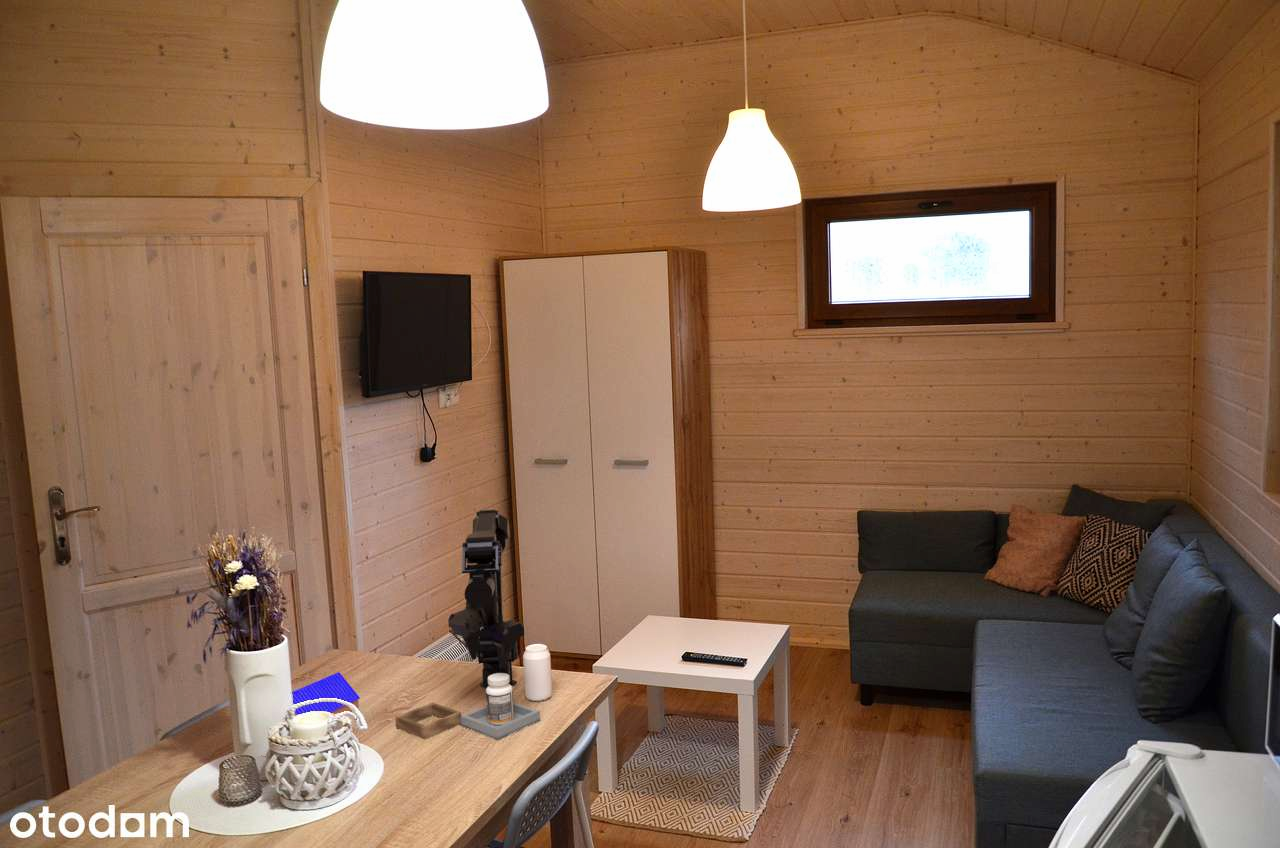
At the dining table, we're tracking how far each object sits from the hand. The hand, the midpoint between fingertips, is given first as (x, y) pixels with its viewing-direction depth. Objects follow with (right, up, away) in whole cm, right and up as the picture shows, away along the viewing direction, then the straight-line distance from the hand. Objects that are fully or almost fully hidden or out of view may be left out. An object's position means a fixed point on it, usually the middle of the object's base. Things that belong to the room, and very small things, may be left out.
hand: (488, 663), depth 216 cm
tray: (+3, -13, -1) cm, 13 cm away
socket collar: (-13, -13, -1) cm, 18 cm away
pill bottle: (+3, -12, -1) cm, 13 cm away
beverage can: (+10, -11, +12) cm, 19 cm away
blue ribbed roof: (-38, -15, -5) cm, 41 cm away
